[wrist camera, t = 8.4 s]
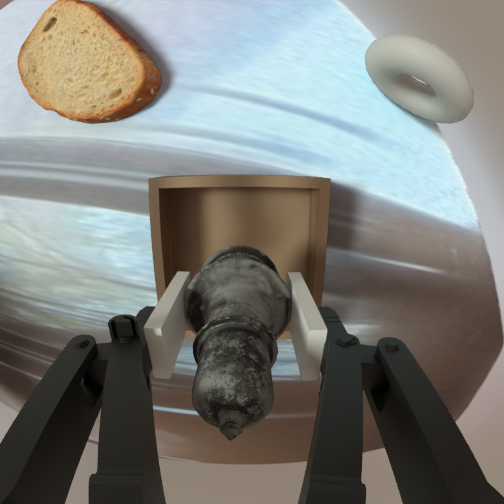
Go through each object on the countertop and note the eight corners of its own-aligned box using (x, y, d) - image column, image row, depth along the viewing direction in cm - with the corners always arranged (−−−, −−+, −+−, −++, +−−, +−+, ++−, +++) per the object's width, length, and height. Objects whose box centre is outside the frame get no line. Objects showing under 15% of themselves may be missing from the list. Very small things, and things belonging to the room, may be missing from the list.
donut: (343, 75, 22) (391, 35, 12) (356, 51, 21) (404, 6, 11) (423, 134, 23) (492, 128, 13) (434, 109, 22) (500, 97, 13)
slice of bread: (163, 111, 23) (150, 103, 19) (22, 151, 23) (0, 151, 19) (167, -28, 17) (158, -46, 14) (34, 22, 17) (18, 14, 14)
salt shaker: (302, 282, 19) (365, 426, 7) (241, 338, 20) (238, 491, 8) (236, 221, 17) (217, 325, 6) (176, 285, 19) (104, 425, 7)
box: (172, 315, 28) (163, 336, 24) (163, 176, 24) (148, 178, 20) (307, 316, 28) (316, 337, 24) (317, 176, 24) (330, 178, 20)
